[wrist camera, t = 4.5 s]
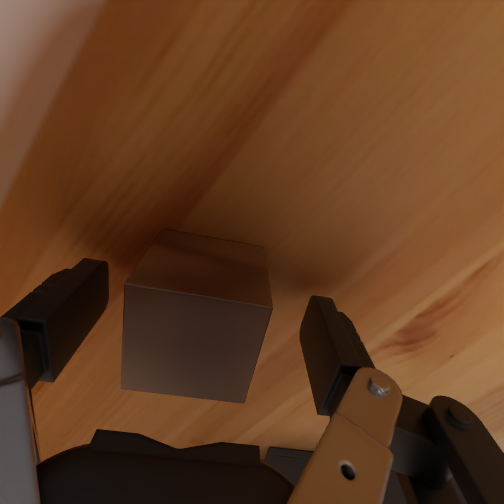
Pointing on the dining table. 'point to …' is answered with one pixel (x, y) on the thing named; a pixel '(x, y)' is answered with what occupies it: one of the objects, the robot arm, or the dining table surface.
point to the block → (195, 317)
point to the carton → (296, 460)
